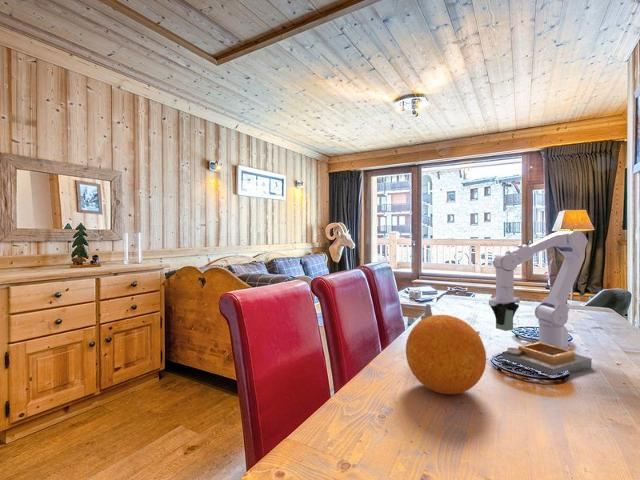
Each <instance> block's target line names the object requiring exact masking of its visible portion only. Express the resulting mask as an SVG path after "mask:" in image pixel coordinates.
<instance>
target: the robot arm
mask: <svg viewBox="0 0 640 480" xmlns="http://www.w3.org/2000/svg"><path fill="white" fill-rule="evenodd" d="M588 243H589V241H588V239H587V237H586V235H585V234H584V233H583V231H581V230H574V231H573V230H571V231H569V230H568V231H566V230H565V231H560V230H559V231H555V232H553V233H550V234H548V235H547V236H545V237H542V238H541V239H539V240H537V241H536V242H532V244H530V245H527V244H518V245H516V246H517V247H515V248H513V249H511V250H506V251H505V253H499V254H497V255H495V257H494V259H493V260H492V265H493V267H494V268H495V296H494V297H493V298H491V299H488V306H489V307H490V308H491V310H492V312H493V315H494V317H495V322H496V321H497V324H500V325H503V324H504V317H505V312H506V310H507V309H508V310H513V318H514V317H515V313H516V312H517V310H518V309H519V308H520V305H519V304H520V303H521V298H520V297H517V296H515V293H514V290H515V288H514V286H515V285H514V284H515V283H514V281H515V280H514V273H515V271H514V270H516V269H517V267H518V266H519V265H520V264H523V263H525V262H528V261H529V260H532V259H533V258H534V256H535V254H537V253H540V252H542V251H544V250H547V249H550V248H553V247H555V248H556V249H557V251H558V252H560V253H561V254H562V256H563V257H564V260H563V262H562V264H561V267H560V268H559V271H558V273H557V276H556V277H555V281H554V283H553V285H552V287H551V290H550V292H549V294H548V296H547V297H545V298H543V299H542V300H541V302H540V303H539V304H538V305H536V307H535V309H534V316H535V317H536V319H537V321H538V322H537V323H538V342H545V343H548V344H550V345H552V346H555V347H559V348H563V349H566V350H571V347H569V331H568V329H567V327H566V324H567V322H568V319H569V312H570V307H569V306H568V304H567V300H568V298H569V296H570V293H571V291H572V289H573V287H574V284H575V282H576V279H577V277H578V275H579V272H580V270H581V268H582V266H583V263H584V261H585V257H586V254H585V253H586V248H587V245H588Z"/></svg>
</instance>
